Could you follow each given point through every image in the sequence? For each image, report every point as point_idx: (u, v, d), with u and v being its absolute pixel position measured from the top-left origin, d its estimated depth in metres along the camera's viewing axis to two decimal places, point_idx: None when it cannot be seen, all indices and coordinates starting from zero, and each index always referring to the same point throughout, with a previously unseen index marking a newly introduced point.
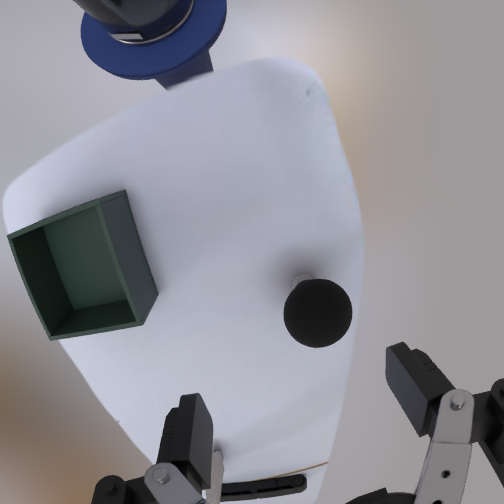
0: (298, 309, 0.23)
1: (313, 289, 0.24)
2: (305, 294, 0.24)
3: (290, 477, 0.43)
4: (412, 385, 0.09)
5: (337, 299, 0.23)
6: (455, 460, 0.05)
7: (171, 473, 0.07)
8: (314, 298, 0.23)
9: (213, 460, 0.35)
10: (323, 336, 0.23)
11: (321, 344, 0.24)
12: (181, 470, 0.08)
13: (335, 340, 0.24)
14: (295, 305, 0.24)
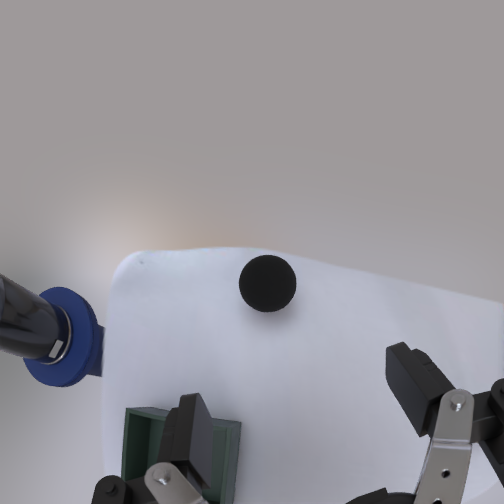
0: (247, 293, 0.30)
1: (239, 281, 0.31)
2: (240, 287, 0.31)
3: None
4: (412, 385, 0.09)
5: (249, 263, 0.31)
6: (455, 460, 0.05)
7: (171, 473, 0.07)
8: (242, 280, 0.30)
9: None
10: (270, 276, 0.29)
11: (281, 280, 0.29)
12: (181, 470, 0.08)
13: (282, 269, 0.30)
14: (246, 296, 0.30)
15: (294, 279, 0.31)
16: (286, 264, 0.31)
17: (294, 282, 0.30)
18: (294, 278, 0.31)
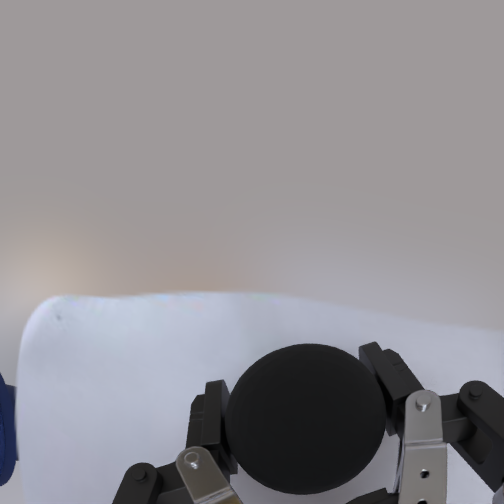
0: (250, 470, 0.08)
1: (225, 424, 0.09)
2: (229, 443, 0.09)
3: None
4: (380, 384, 0.10)
5: (253, 379, 0.09)
6: (432, 459, 0.05)
7: (204, 458, 0.08)
8: (231, 431, 0.09)
9: None
10: (327, 437, 0.07)
11: (359, 440, 0.07)
12: (212, 454, 0.09)
13: (361, 402, 0.08)
14: (246, 471, 0.08)
15: (385, 413, 0.09)
16: (367, 377, 0.09)
17: (385, 421, 0.09)
18: (385, 410, 0.09)
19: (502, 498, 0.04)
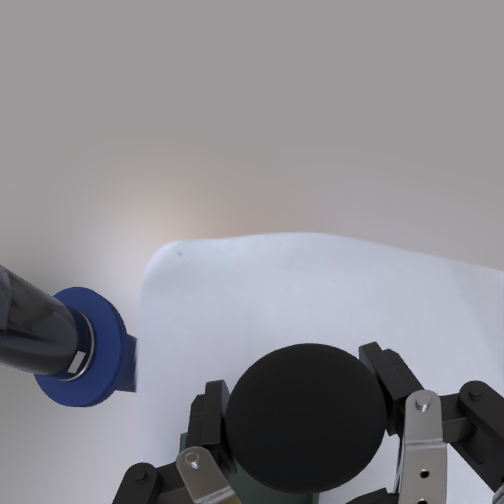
0: (250, 470, 0.08)
1: (226, 423, 0.09)
2: (229, 443, 0.09)
3: None
4: (380, 384, 0.10)
5: (253, 379, 0.09)
6: (432, 459, 0.05)
7: (204, 458, 0.08)
8: (232, 431, 0.09)
9: None
10: (328, 437, 0.07)
11: (360, 440, 0.07)
12: (212, 454, 0.09)
13: (361, 402, 0.08)
14: (246, 470, 0.08)
15: (385, 413, 0.09)
16: (367, 377, 0.09)
17: (385, 421, 0.09)
18: (385, 410, 0.09)
19: (502, 498, 0.04)
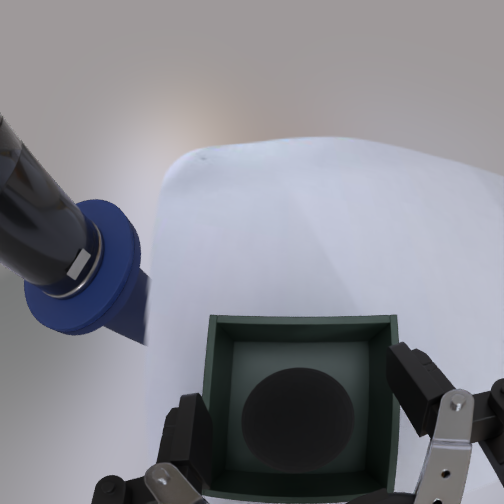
0: (256, 454, 0.12)
1: (241, 423, 0.14)
2: (243, 436, 0.13)
3: None
4: (412, 385, 0.09)
5: (258, 394, 0.14)
6: (455, 460, 0.05)
7: (172, 473, 0.07)
8: (244, 428, 0.13)
9: None
10: (303, 434, 0.11)
11: (326, 437, 0.11)
12: (181, 470, 0.08)
13: (328, 411, 0.12)
14: (254, 455, 0.13)
15: (352, 418, 0.13)
16: (336, 394, 0.13)
17: (351, 424, 0.13)
18: (352, 416, 0.13)
19: None
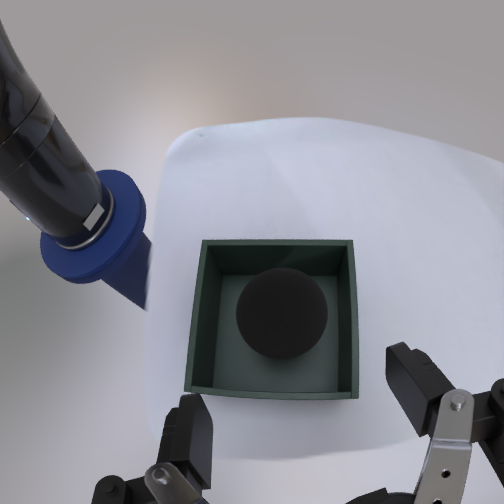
0: (250, 334, 0.17)
1: (236, 311, 0.19)
2: (238, 322, 0.18)
3: None
4: (412, 385, 0.09)
5: (252, 282, 0.19)
6: (455, 460, 0.05)
7: (171, 473, 0.07)
8: (240, 311, 0.18)
9: None
10: (290, 307, 0.17)
11: (308, 312, 0.17)
12: (181, 470, 0.08)
13: (308, 292, 0.17)
14: (248, 338, 0.18)
15: (326, 307, 0.18)
16: (313, 283, 0.18)
17: (326, 312, 0.18)
18: (326, 305, 0.18)
19: None
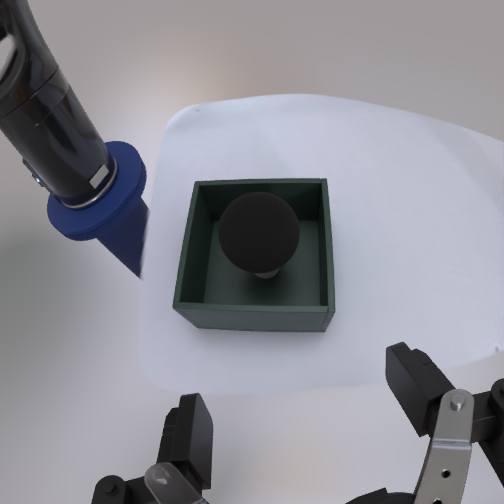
0: (228, 243, 0.20)
1: (218, 229, 0.22)
2: (219, 237, 0.21)
3: None
4: (412, 385, 0.09)
5: (232, 203, 0.22)
6: (455, 460, 0.05)
7: (171, 473, 0.07)
8: (221, 225, 0.21)
9: None
10: (261, 215, 0.20)
11: (278, 220, 0.20)
12: (181, 470, 0.08)
13: (278, 205, 0.20)
14: (227, 248, 0.21)
15: (296, 222, 0.21)
16: (284, 201, 0.21)
17: (297, 226, 0.21)
18: (296, 221, 0.21)
19: None
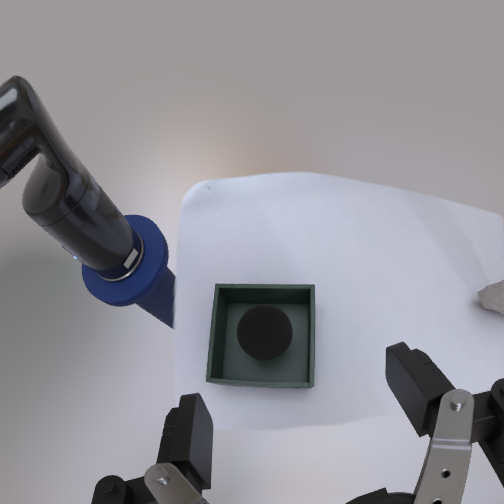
0: (245, 345, 0.30)
1: (237, 331, 0.31)
2: (238, 338, 0.31)
3: None
4: (412, 385, 0.09)
5: (246, 314, 0.31)
6: (455, 460, 0.05)
7: (171, 473, 0.07)
8: (239, 331, 0.31)
9: (484, 296, 0.33)
10: (267, 329, 0.29)
11: (277, 332, 0.29)
12: (181, 470, 0.08)
13: (278, 320, 0.30)
14: (243, 347, 0.30)
15: (290, 329, 0.31)
16: (282, 315, 0.31)
17: (290, 332, 0.31)
18: (290, 328, 0.31)
19: None
